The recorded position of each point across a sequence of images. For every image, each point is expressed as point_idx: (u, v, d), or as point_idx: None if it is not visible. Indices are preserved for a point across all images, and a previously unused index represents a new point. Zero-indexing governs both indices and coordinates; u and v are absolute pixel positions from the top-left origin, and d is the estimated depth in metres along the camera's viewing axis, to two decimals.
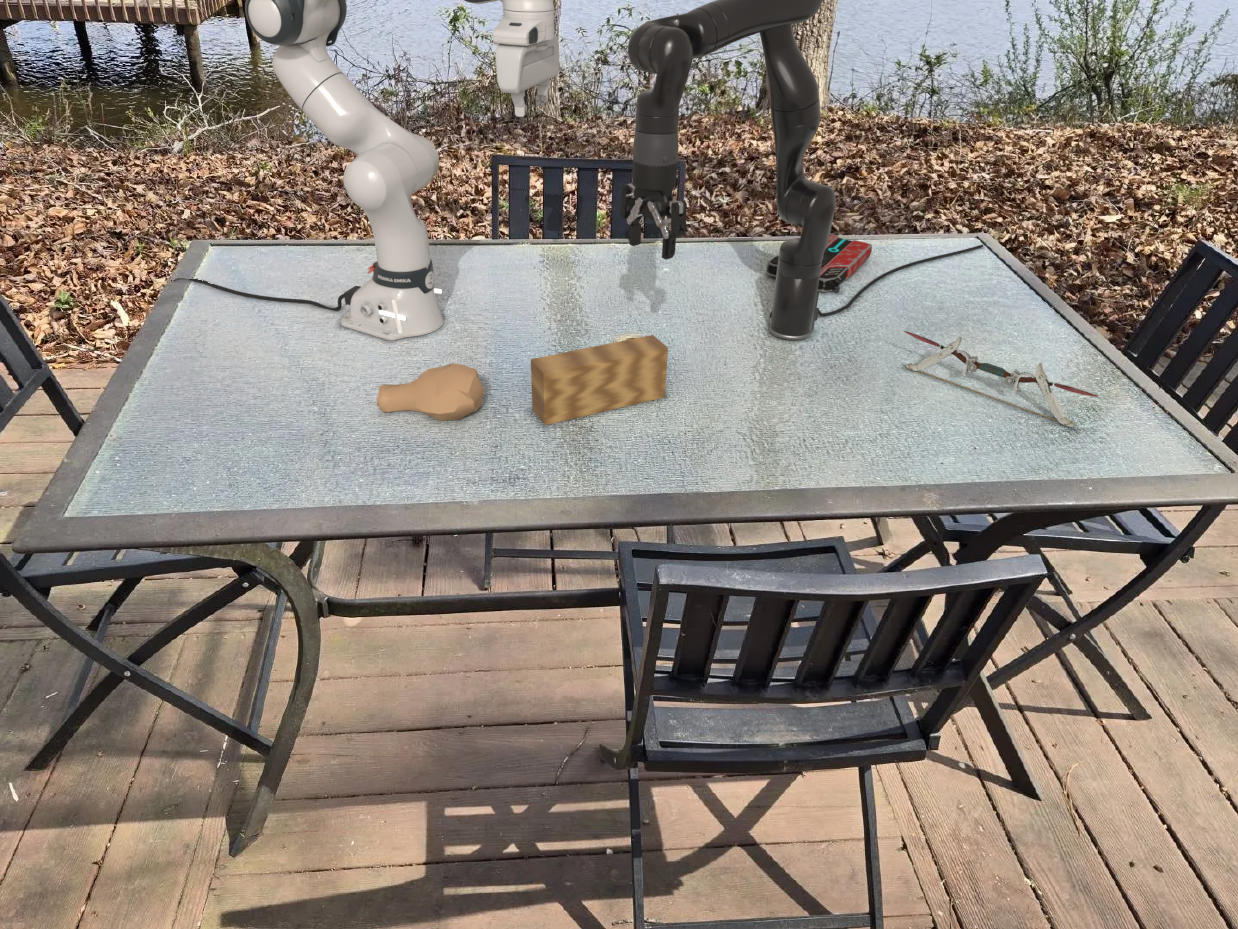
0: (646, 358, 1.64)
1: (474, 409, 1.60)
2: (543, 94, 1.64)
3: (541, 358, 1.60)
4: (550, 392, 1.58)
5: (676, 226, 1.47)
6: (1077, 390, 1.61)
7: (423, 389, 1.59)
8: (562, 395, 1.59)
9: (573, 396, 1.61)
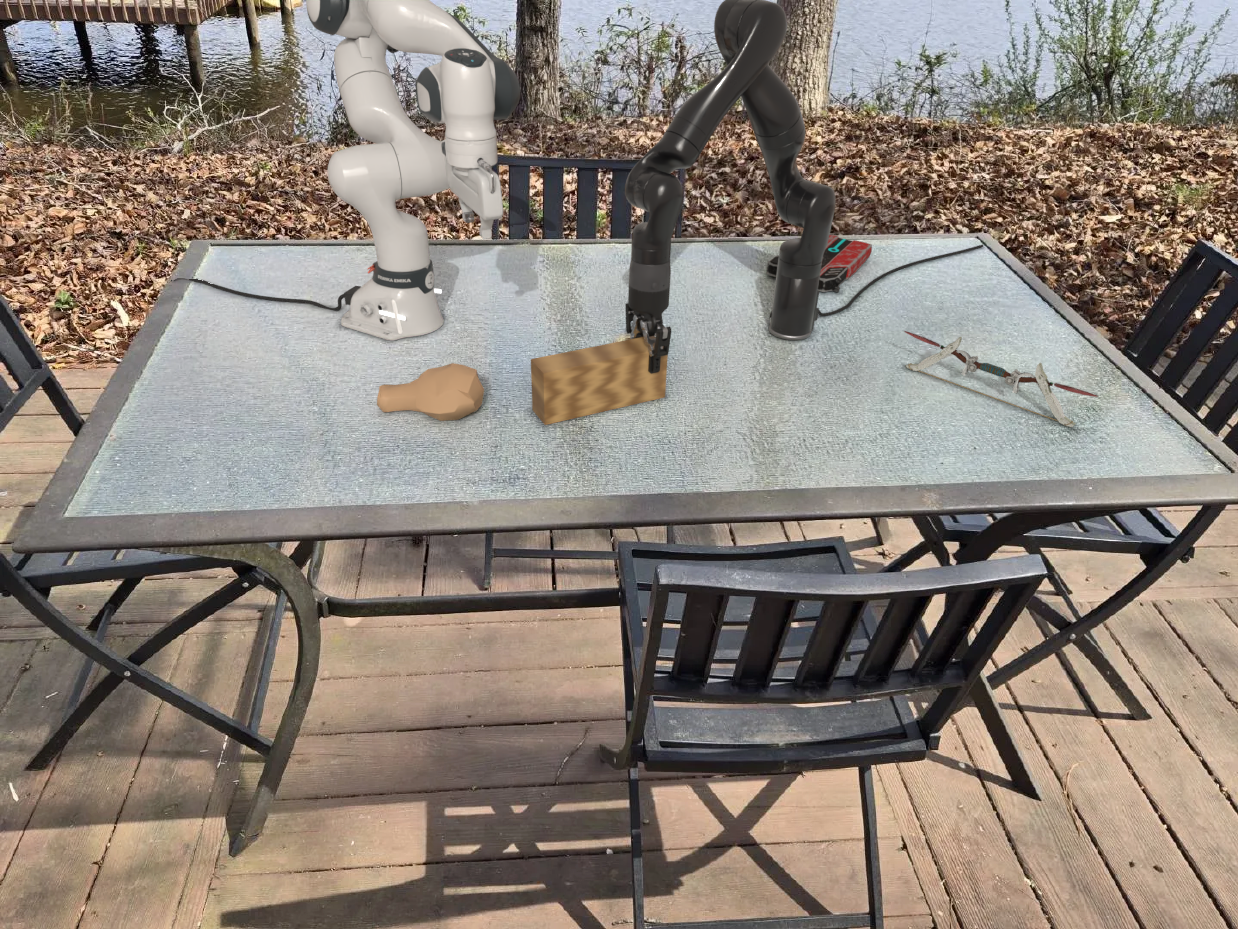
0: (646, 358, 1.64)
1: (474, 409, 1.60)
2: None
3: (541, 358, 1.60)
4: (550, 392, 1.58)
5: (658, 348, 1.60)
6: (1077, 390, 1.61)
7: (423, 389, 1.59)
8: (562, 395, 1.59)
9: (573, 396, 1.61)
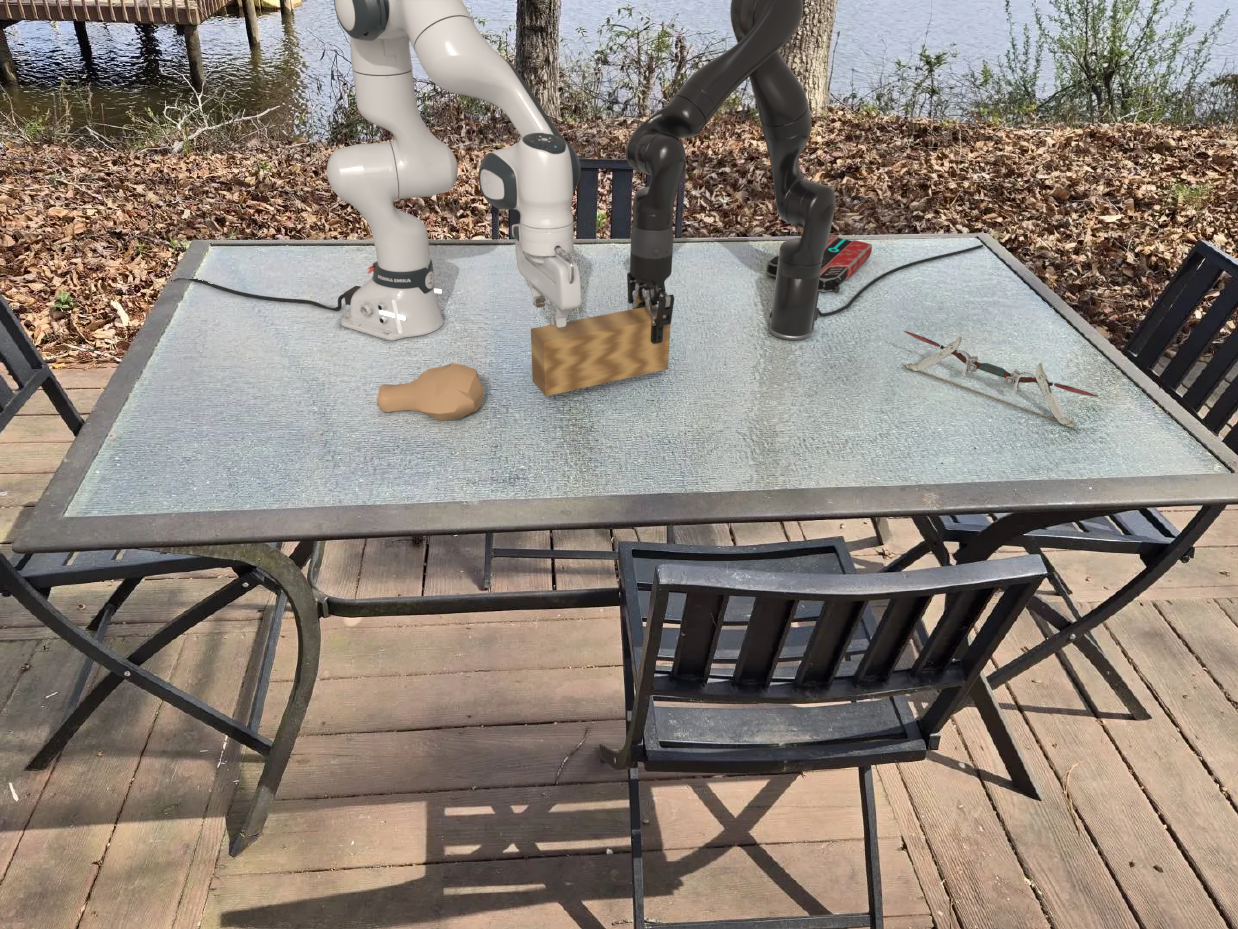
0: (648, 328, 1.60)
1: (474, 409, 1.60)
2: None
3: (541, 327, 1.56)
4: (550, 362, 1.54)
5: (661, 317, 1.56)
6: (1077, 390, 1.61)
7: (423, 389, 1.59)
8: (563, 365, 1.56)
9: (574, 367, 1.57)
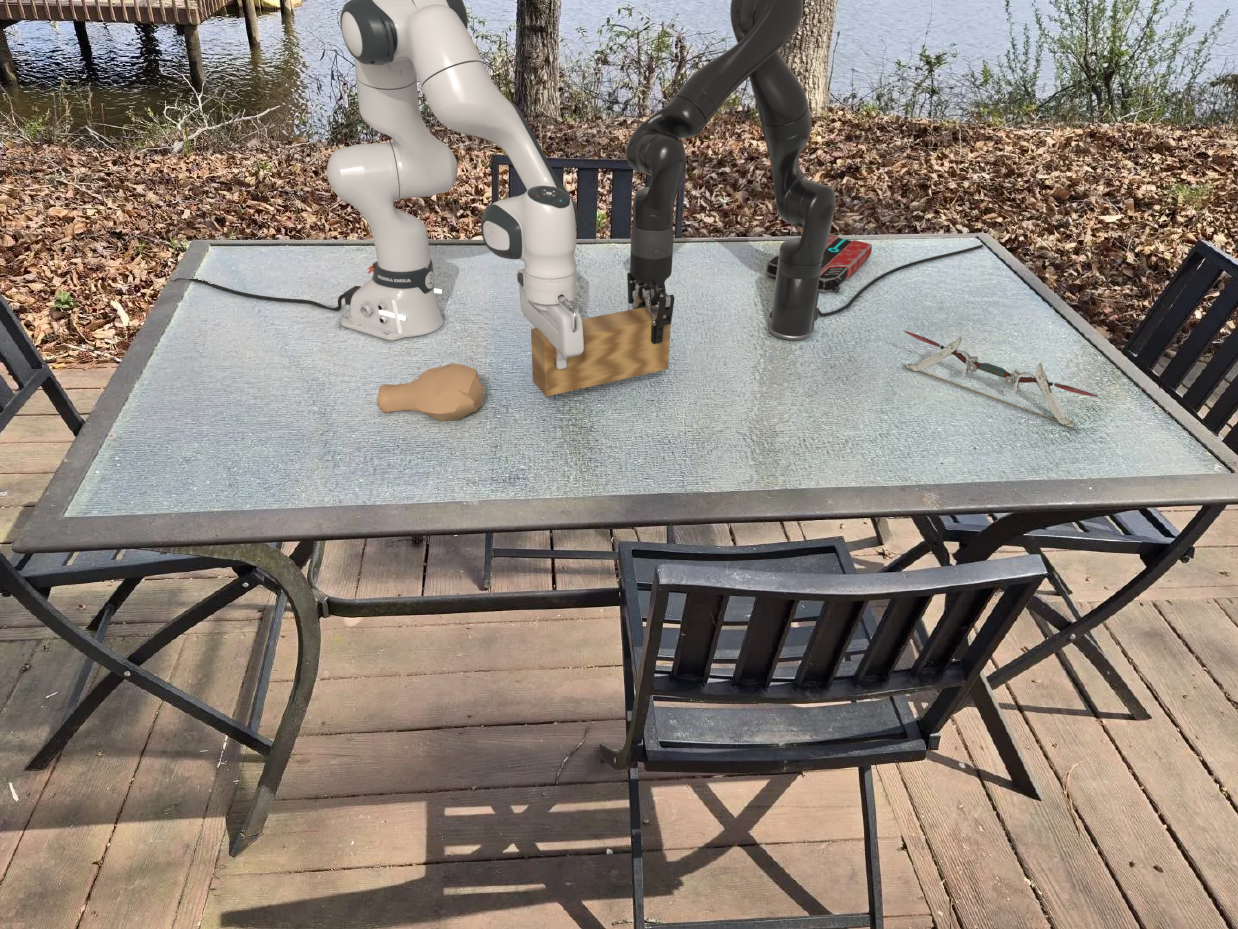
0: (648, 328, 1.60)
1: (474, 409, 1.60)
2: None
3: None
4: (550, 363, 1.54)
5: (661, 317, 1.56)
6: (1077, 390, 1.61)
7: (423, 389, 1.59)
8: None
9: (575, 367, 1.57)
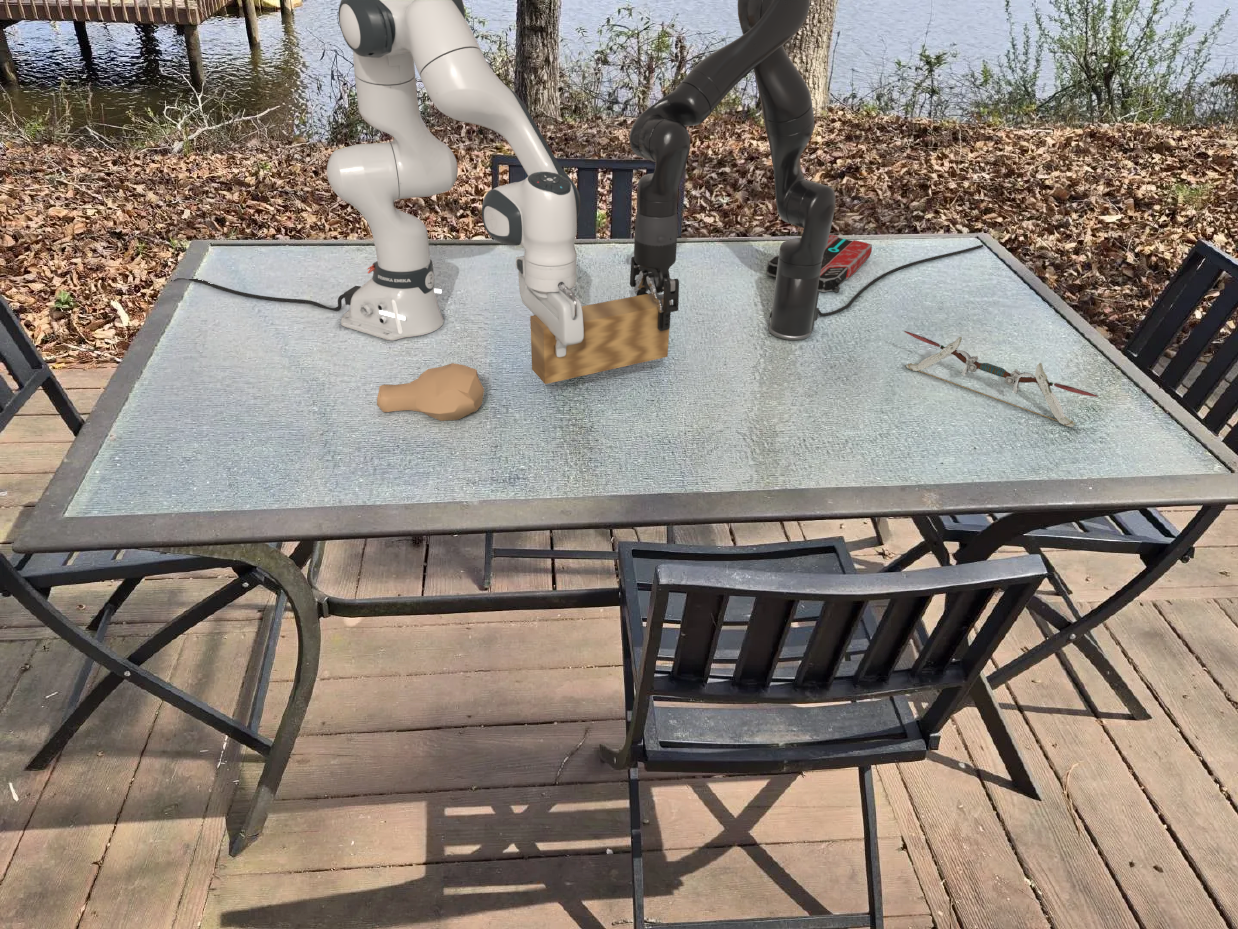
0: (648, 315, 1.59)
1: (474, 409, 1.60)
2: None
3: None
4: (550, 350, 1.53)
5: (667, 302, 1.54)
6: (1077, 390, 1.61)
7: (423, 389, 1.59)
8: None
9: (574, 354, 1.56)
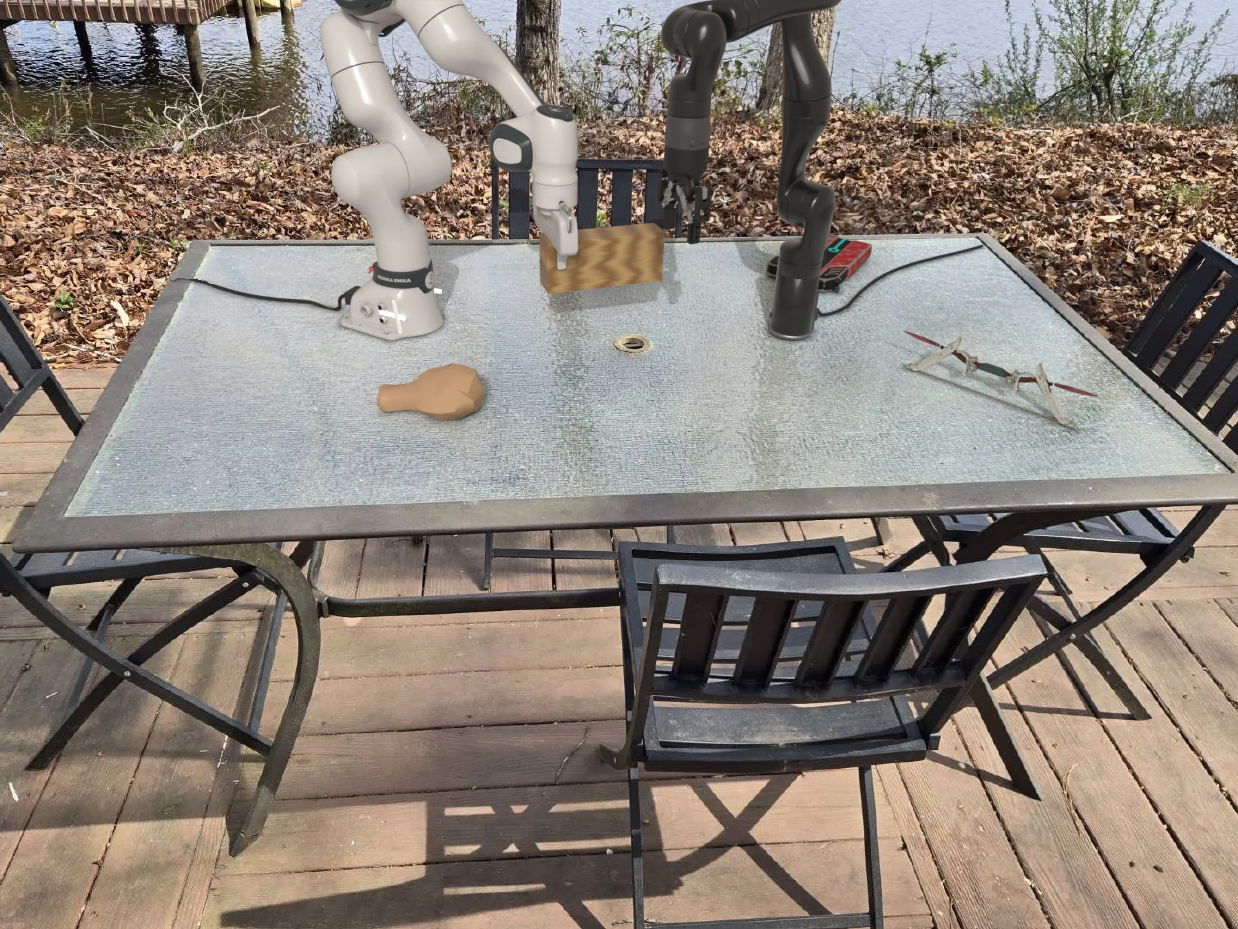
0: (643, 240, 1.81)
1: (474, 409, 1.60)
2: None
3: None
4: (553, 263, 1.77)
5: (699, 211, 1.48)
6: (1077, 390, 1.61)
7: (423, 389, 1.59)
8: None
9: (575, 269, 1.79)
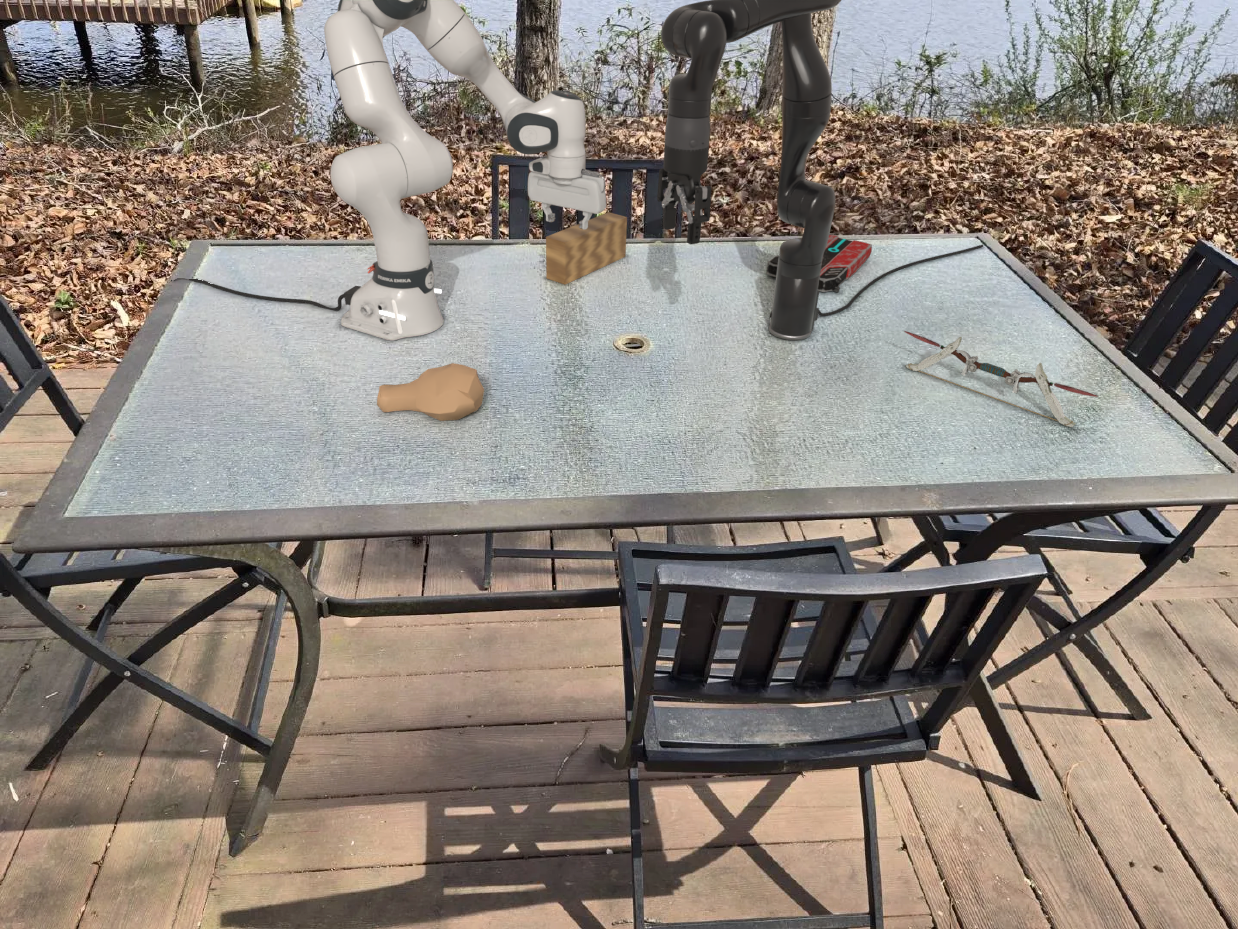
0: (616, 226, 2.25)
1: (474, 409, 1.60)
2: None
3: (552, 235, 2.14)
4: (568, 258, 2.14)
5: (699, 211, 1.48)
6: (1077, 390, 1.61)
7: (423, 389, 1.59)
8: (574, 259, 2.16)
9: (580, 260, 2.18)
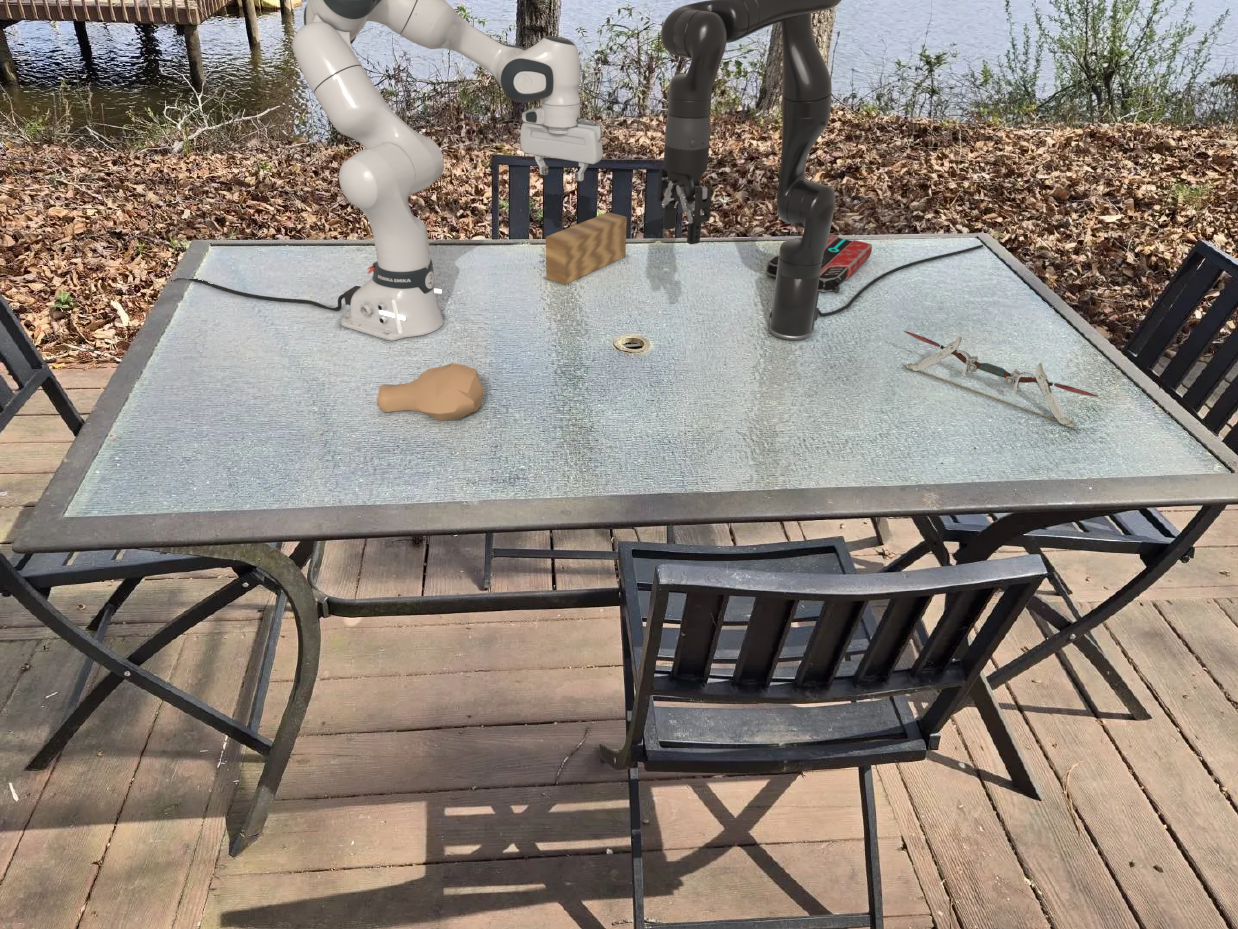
0: (615, 226, 2.25)
1: (474, 409, 1.60)
2: None
3: (552, 235, 2.15)
4: (567, 257, 2.14)
5: (699, 211, 1.48)
6: (1077, 390, 1.61)
7: (423, 389, 1.59)
8: (574, 259, 2.16)
9: (579, 259, 2.18)
